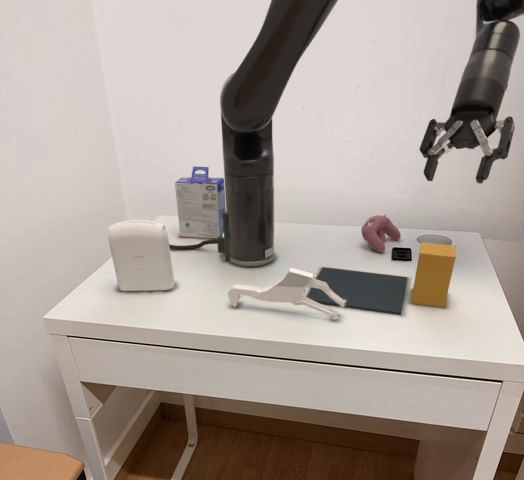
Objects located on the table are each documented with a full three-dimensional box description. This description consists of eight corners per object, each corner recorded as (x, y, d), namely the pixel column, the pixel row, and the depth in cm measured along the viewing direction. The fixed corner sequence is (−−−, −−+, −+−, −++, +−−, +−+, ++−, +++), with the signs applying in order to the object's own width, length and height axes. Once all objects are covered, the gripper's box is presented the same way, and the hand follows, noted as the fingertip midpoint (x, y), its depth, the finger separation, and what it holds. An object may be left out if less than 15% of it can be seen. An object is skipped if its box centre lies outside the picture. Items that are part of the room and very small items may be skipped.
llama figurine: (320, 344, 82) (227, 297, 82) (352, 292, 75) (249, 240, 75) (318, 350, 81) (223, 302, 81) (350, 297, 74) (246, 245, 74)
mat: (304, 301, 82) (305, 299, 82) (322, 268, 93) (322, 266, 93) (400, 314, 78) (400, 312, 78) (407, 279, 89) (407, 277, 89)
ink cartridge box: (228, 231, 111) (224, 166, 103) (221, 239, 107) (217, 172, 99) (187, 228, 113) (181, 164, 105) (179, 237, 109) (172, 170, 101)
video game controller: (384, 243, 108) (374, 213, 106) (403, 237, 105) (393, 207, 103) (365, 257, 101) (354, 225, 99) (384, 252, 98) (373, 219, 96)
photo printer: (115, 292, 86) (101, 225, 79) (121, 282, 90) (108, 217, 83) (172, 292, 86) (163, 225, 79) (176, 281, 89) (168, 216, 82)
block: (410, 303, 81) (419, 253, 76) (412, 290, 85) (421, 242, 80) (444, 307, 80) (455, 256, 75) (444, 294, 84) (455, 245, 79)
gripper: (434, 78, 83) (406, 169, 83) (524, 70, 74) (493, 171, 74) (445, 103, 89) (419, 188, 89) (530, 99, 80) (500, 192, 81)
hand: (453, 180), depth 82 cm, fingers open, 8 cm apart
